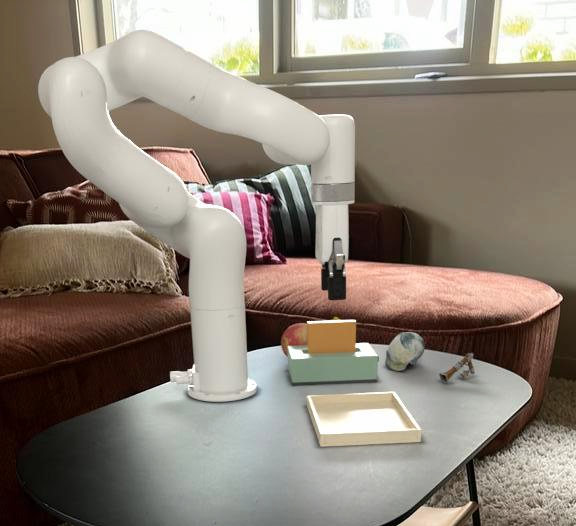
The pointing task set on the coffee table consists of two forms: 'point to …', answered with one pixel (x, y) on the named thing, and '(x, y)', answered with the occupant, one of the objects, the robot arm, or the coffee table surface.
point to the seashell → (404, 350)
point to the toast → (331, 336)
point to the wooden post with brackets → (457, 366)
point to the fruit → (294, 336)
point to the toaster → (332, 366)
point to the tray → (362, 419)
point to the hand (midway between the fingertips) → (333, 294)
